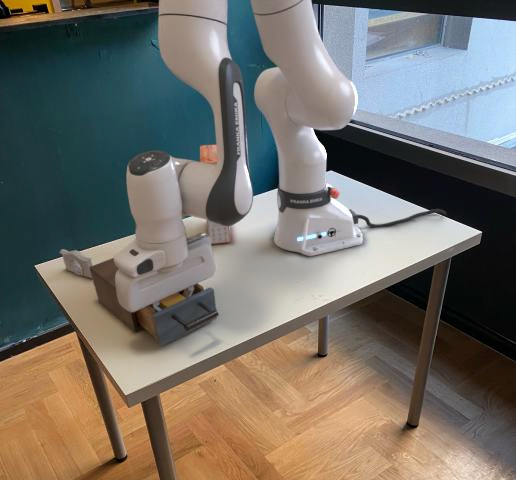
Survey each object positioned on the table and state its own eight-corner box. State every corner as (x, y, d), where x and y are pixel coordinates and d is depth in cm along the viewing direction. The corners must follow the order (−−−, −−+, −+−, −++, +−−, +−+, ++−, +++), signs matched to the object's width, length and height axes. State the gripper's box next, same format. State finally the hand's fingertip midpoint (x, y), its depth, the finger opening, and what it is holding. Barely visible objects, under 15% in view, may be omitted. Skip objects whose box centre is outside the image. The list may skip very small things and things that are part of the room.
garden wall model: (105, 279, 119) (100, 256, 115) (100, 283, 118) (94, 260, 114) (70, 267, 124) (63, 245, 121) (64, 270, 123) (57, 248, 120)
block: (178, 308, 105) (175, 290, 102) (190, 317, 102) (187, 299, 99) (159, 317, 102) (156, 298, 100) (172, 326, 100) (168, 307, 97)
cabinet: (194, 303, 109) (189, 268, 104) (135, 332, 102) (126, 295, 97) (155, 277, 119) (149, 243, 114) (98, 301, 112) (89, 267, 106)
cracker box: (207, 222, 142) (199, 144, 129) (229, 220, 142) (223, 143, 129) (207, 245, 131) (198, 162, 118) (231, 243, 131) (224, 161, 118)
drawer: (234, 329, 100) (231, 300, 96) (177, 360, 93) (171, 330, 89) (176, 291, 112) (172, 263, 108) (122, 315, 105) (115, 287, 101)
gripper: (199, 224, 100) (206, 285, 108) (104, 260, 89) (120, 324, 98) (219, 234, 96) (224, 297, 104) (122, 273, 86) (137, 339, 94)
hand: (173, 310), depth 101 cm, fingers closed on block, 4 cm apart
